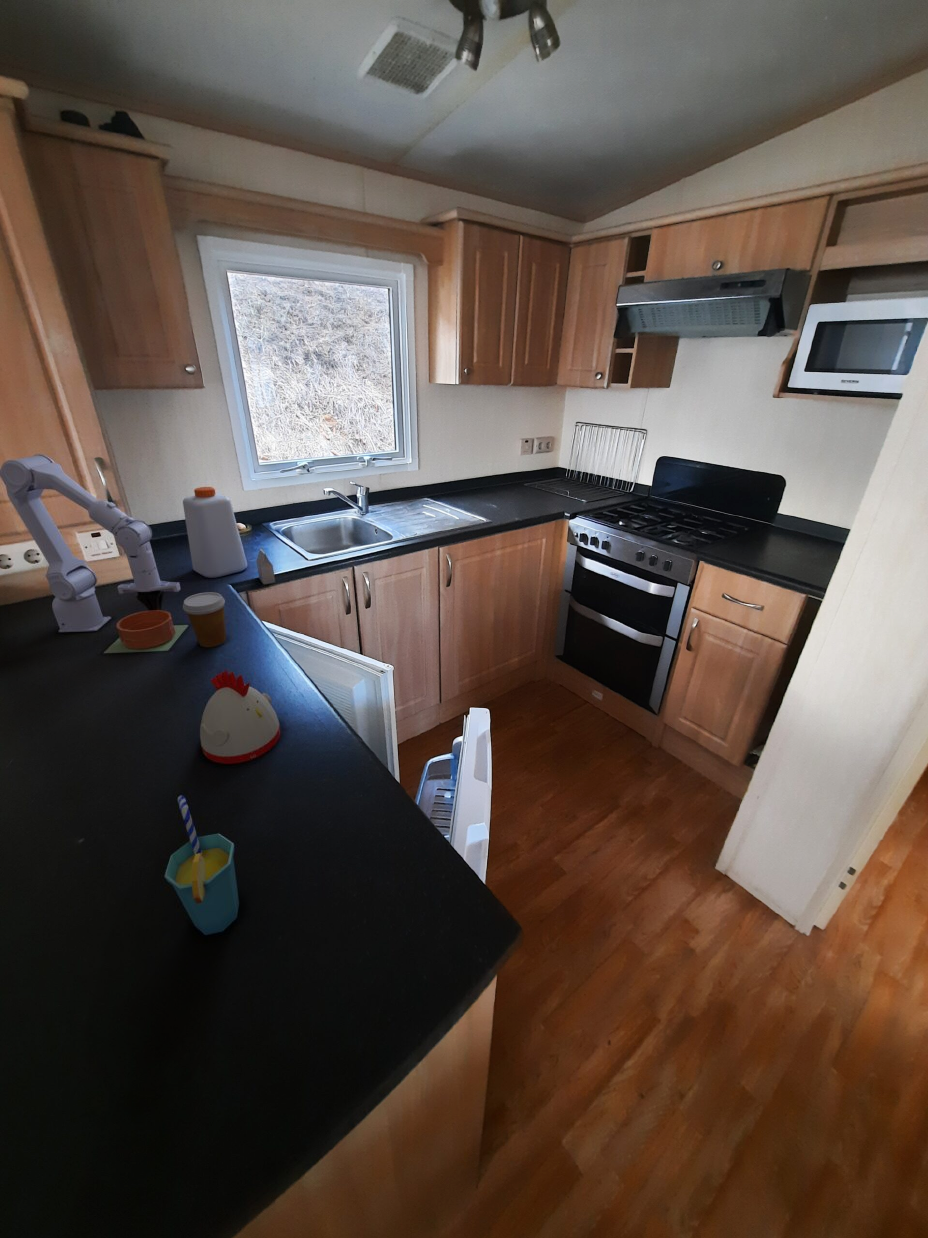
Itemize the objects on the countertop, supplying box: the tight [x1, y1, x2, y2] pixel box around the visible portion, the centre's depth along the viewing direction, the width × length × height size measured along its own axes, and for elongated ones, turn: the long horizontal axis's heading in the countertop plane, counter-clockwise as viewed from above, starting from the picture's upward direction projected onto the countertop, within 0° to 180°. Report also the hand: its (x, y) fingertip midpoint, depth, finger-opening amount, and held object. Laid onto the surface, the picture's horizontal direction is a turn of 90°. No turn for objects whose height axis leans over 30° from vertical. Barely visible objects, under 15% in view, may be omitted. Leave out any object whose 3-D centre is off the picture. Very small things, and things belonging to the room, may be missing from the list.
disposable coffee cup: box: [182, 591, 227, 648], centre depth 128 cm, size 10×10×12 cm
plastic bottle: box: [182, 486, 248, 579], centre depth 170 cm, size 15×15×28 cm
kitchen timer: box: [199, 669, 282, 765], centre depth 94 cm, size 14×14×15 cm
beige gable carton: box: [255, 548, 276, 585], centre depth 166 cm, size 4×7×10 cm, turn 32°
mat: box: [103, 624, 189, 654], centre depth 131 cm, size 15×14×1 cm
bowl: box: [116, 609, 176, 649], centre depth 130 cm, size 12×12×6 cm
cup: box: [163, 795, 240, 936], centre depth 63 cm, size 14×8×15 cm, turn 37°
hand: (157, 616), depth 136 cm, fingers closed, pressing on bowl
